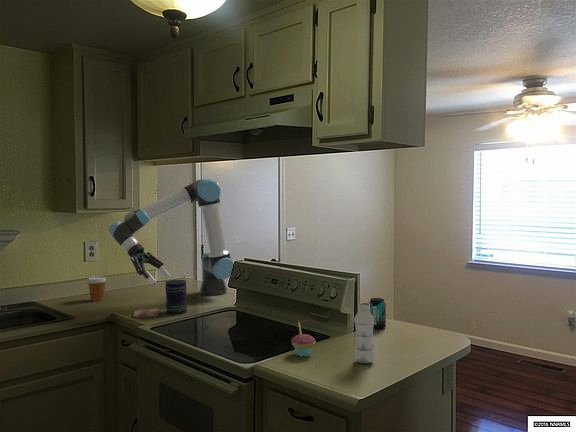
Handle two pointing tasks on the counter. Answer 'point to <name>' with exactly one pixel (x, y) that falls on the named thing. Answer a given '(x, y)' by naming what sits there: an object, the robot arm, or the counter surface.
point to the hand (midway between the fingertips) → (161, 279)
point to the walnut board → (146, 313)
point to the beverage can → (378, 312)
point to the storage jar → (176, 297)
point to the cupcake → (303, 343)
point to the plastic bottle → (364, 334)
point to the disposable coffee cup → (96, 288)
